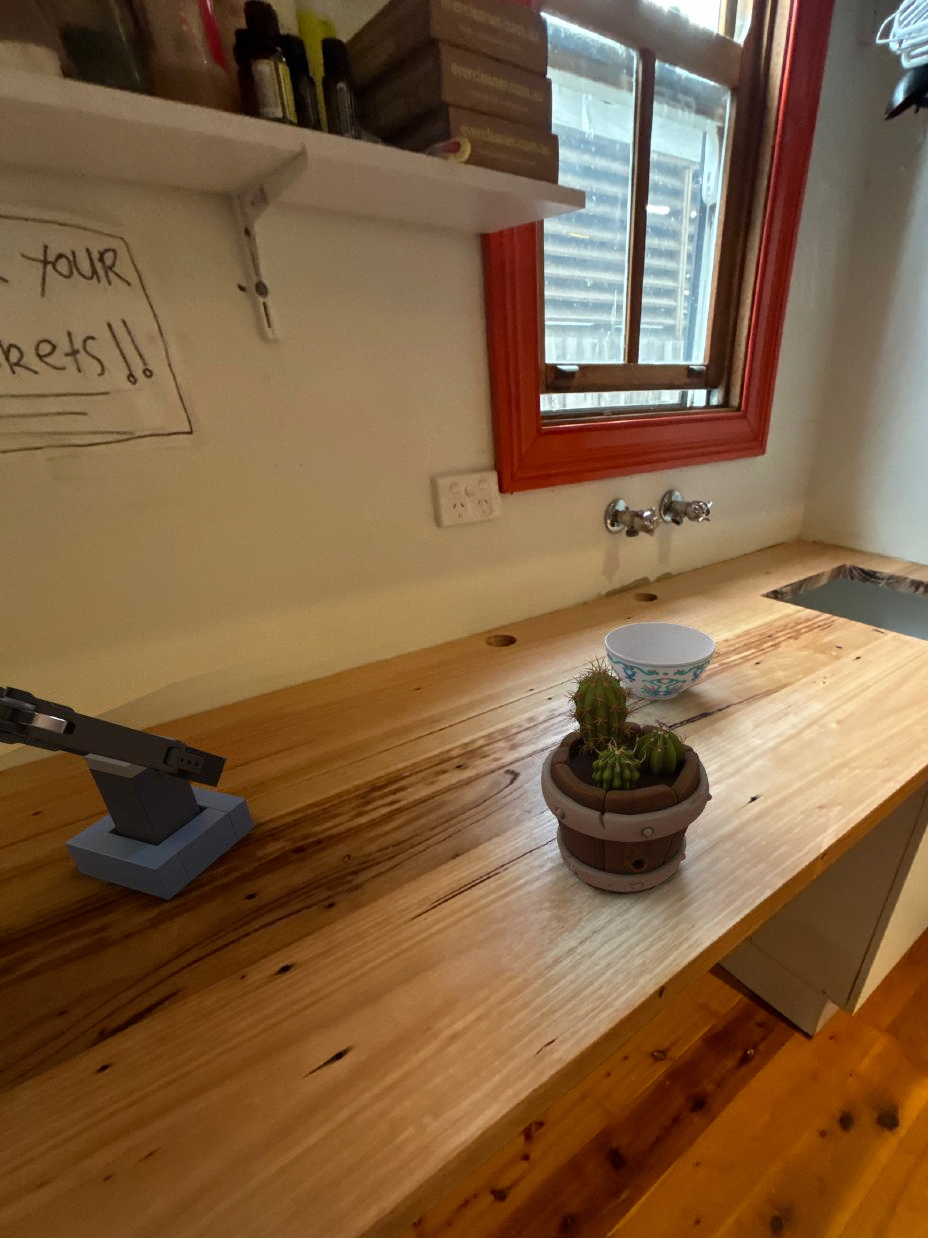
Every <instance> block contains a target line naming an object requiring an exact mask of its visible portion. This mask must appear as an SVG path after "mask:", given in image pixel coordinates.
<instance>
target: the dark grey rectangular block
mask: <svg viewBox="0 0 928 1238" xmlns="http://www.w3.org/2000/svg"><path fill="white" fill-rule="evenodd" d="M148 733H149V732H148ZM149 734H151V733H149ZM152 734H153V735H156V736H160V737H163V738H167V739H170V740H175V738H174V737H169V736H164V735H161V734H155V733H152ZM83 759H84V761H85V764H86V766H87V768H88V770H89V772H90V774H91V776H92V778H93V781H94V784H95V785H96V788H97V789H98V791H99V794H100V796H101V798H102V800H103V802H104V805H105V807H106V809H107V811H108V814H110V816H111V818H112V820H113V822H114V824H115V827H116V829H117V831H118V833H119V835H120V836H122V837H125V838H129V839H133V840H136V841H140V842H144V843H147V844H151V845H154V846H158V845H160V844H161V843H162V842H164V841H165V840H166V839H168V838H169V837H170V836H172V835H173V834H174V833H176V832H177V831H178V830H180V829H181V828H182V827H184V826H185V825H186V824H188V823H189V822H190V821H192V820H193V819H194V818H196V817H197V816H198V815H200V814H201V812H200V809H199V806H198V803H197V801H196V798H195V795H194V793H193V790H192V787H191V786H192V785H191V781H189V780H185V779H181V778H177V777H174V776H170V775H166V774H164V776H163V779H162V781H160V780H156V779H153V777H154V775H155V772H154V771H150V770H151V768H147V767H143V766H139V765H135V764H131V763H127V762H123V761H119V760H115V759H111V758H107V757H103V756H98V755H94V754H88V755H86V756H83Z"/></svg>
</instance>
